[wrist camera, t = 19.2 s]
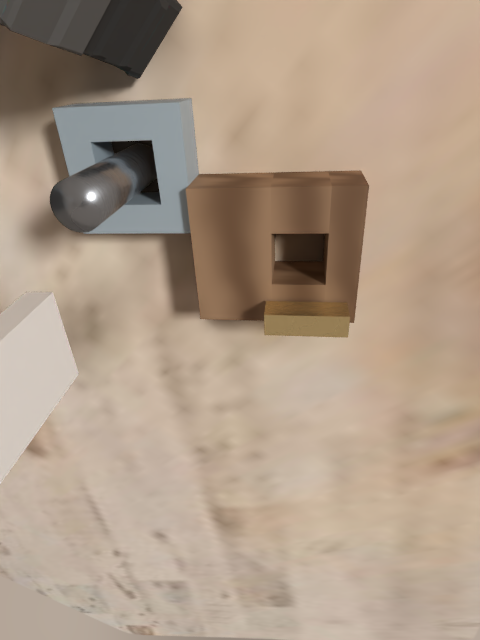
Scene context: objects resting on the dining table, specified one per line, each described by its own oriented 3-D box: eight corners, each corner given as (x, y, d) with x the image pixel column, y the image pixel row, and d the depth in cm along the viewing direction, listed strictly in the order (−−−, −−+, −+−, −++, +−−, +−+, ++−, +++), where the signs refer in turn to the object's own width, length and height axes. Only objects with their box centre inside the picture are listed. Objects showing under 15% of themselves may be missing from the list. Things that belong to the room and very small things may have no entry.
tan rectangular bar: (266, 320, 38) (264, 334, 36) (266, 301, 37) (264, 314, 35) (345, 322, 37) (347, 337, 35) (347, 302, 36) (350, 316, 34)
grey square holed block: (101, 219, 41) (83, 233, 37) (75, 103, 35) (52, 108, 32) (203, 218, 39) (193, 233, 36) (191, 98, 34) (179, 102, 31)
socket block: (210, 293, 43) (200, 318, 39) (198, 174, 37) (185, 188, 33) (348, 296, 42) (354, 322, 37) (361, 170, 35) (368, 185, 31)
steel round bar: (127, 183, 38) (58, 232, 28) (120, 144, 37) (43, 179, 26) (163, 182, 38) (107, 232, 27) (157, 142, 36) (95, 178, 25)
